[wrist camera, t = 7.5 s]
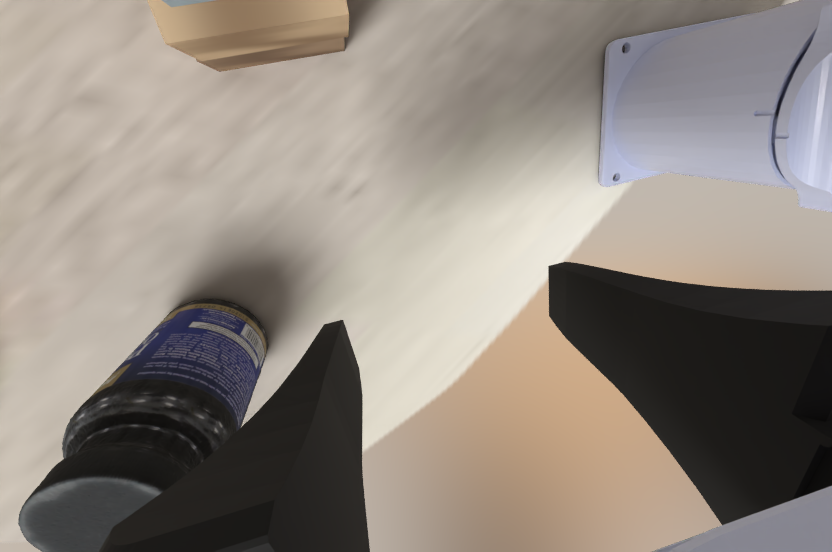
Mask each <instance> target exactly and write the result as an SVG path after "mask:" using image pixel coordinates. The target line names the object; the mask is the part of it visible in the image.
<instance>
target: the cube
mask: <svg viewBox="0 0 832 552" xmlns="http://www.w3.org/2000/svg"><path fill="white" fill-rule="evenodd" d="M162 1H163V2H165V3H166V4H168V5H169V6H170V7H177V6H183V5H189V4H196V3H202V2H208V1H215V0H162Z"/></svg>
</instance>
